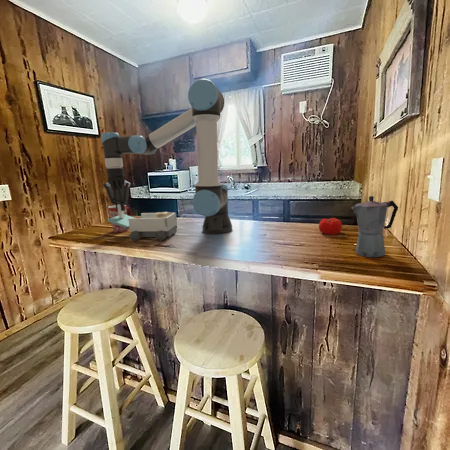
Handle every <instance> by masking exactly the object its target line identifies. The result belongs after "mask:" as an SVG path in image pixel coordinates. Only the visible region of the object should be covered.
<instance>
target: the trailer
mask: <svg viewBox="0 0 450 450" xmlns="http://www.w3.org/2000/svg"><path fill="white" fill-rule="evenodd" d="M156 213H157V212H142V213H140V217H134V218H129V219H128V220H129V228H128V229H129V232H130V233H129V238H130V240H131V241H133V242H137V241H140V240H141V238H146V237H147V238H155V240H157V241H158V242H163V241H164V240H165V239H166V238H170V237H171V236H172V235H173V234H174V233H176V232H177V229H178V221H177V212H168V216H167V217H166V218H156Z"/></svg>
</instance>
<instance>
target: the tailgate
mask: <svg viewBox="0 0 450 450" xmlns="http://www.w3.org/2000/svg"><path fill="white" fill-rule="evenodd" d="M129 218H135V217H134V216H132V215H131V216H128V214H127V215H125V214H124V217H123V218H119V215H118V216H116V217H113V218H108V219H107V222H109V223H111V224H112V223H114V224H117V225H119V226H122V227H125V229H128V230H129V229H130V228H129V220H128V219H129Z"/></svg>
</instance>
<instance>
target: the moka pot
mask: <svg viewBox="0 0 450 450" xmlns="http://www.w3.org/2000/svg"><path fill="white" fill-rule="evenodd" d="M374 198H375V196H373V195H370V196H368V201H365V202H358V203H355V205H352V206H351V209H352V210H353V212H354V214H355V216H356V220H357V221H356V222H357V227H358V234H357V240H356V245H355V254H357V255H358V256H361V257H366V258H380V257H383V256H385V255H386V247H385V241H384V240H385V239H384V233H383V231H384V229H390V228H392V227H393V226H392V225H393V224H394V221H395V217H396V215H397V212H398V211H399V206H398V205H397V204H396V203H395V201H394V200H389V201H383V202H380V201H374ZM390 207H392V208H393V210H392V212H391V216H390V220H389V223H388V224H387V225H385V222H386V218H387V212H388V208H390Z"/></svg>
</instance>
